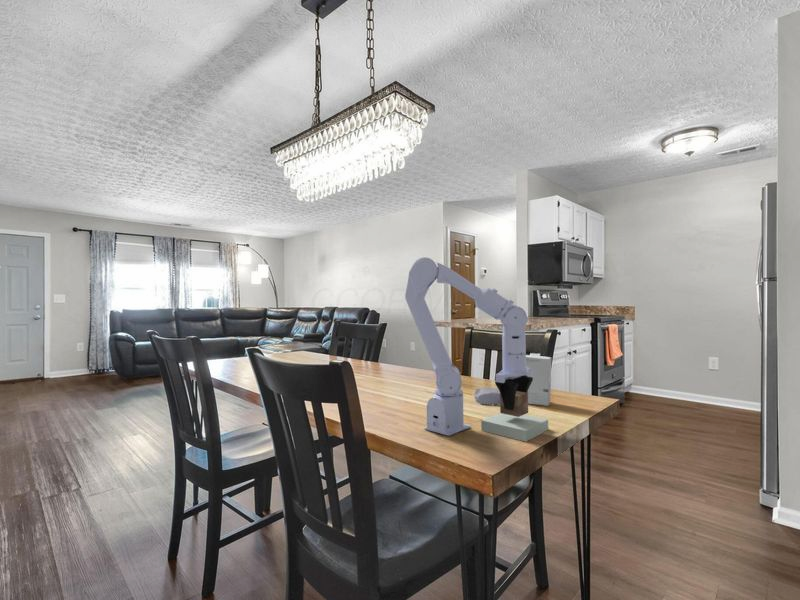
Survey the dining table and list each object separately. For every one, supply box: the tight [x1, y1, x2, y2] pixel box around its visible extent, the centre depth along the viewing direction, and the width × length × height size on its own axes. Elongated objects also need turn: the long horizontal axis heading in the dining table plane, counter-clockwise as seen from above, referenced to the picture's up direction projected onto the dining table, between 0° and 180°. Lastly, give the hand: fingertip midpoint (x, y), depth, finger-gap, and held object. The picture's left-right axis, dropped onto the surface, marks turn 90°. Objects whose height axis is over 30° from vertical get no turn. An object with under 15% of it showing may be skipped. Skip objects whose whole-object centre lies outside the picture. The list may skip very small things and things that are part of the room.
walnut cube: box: [499, 391, 529, 417], centre depth 101 cm, size 5×5×5 cm
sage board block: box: [480, 412, 549, 442], centre depth 100 cm, size 12×12×3 cm
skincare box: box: [526, 354, 552, 407], centre depth 127 cm, size 8×6×15 cm
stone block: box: [473, 386, 500, 405], centre depth 131 cm, size 12×5×10 cm
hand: (514, 407), depth 100 cm, fingers closed on walnut cube, 5 cm apart
